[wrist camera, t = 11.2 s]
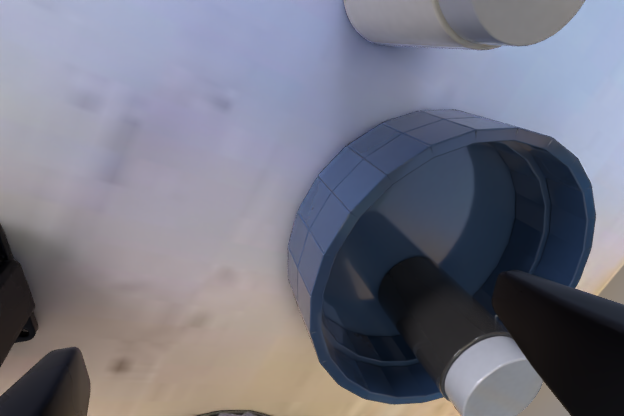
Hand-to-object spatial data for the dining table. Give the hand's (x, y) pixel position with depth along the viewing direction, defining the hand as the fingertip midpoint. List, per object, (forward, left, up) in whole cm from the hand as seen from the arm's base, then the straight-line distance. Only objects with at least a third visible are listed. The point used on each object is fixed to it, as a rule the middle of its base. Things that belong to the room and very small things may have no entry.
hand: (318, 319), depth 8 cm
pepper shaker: (+10, -9, -12) cm, 18 cm away
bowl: (+10, -6, -12) cm, 17 cm away
